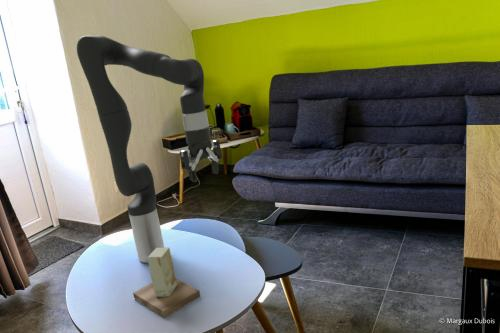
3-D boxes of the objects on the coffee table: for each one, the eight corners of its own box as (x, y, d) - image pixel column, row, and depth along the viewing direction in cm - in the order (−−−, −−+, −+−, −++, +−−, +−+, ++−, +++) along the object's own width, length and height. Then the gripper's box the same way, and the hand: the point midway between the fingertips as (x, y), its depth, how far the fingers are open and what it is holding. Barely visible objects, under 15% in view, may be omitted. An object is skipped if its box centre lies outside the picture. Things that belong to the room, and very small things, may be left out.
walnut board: (134, 298, 125) (132, 292, 124) (168, 280, 133) (167, 274, 132) (164, 318, 114) (163, 311, 113) (200, 296, 121) (199, 290, 121)
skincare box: (169, 297, 119) (161, 257, 116) (155, 297, 120) (146, 257, 117) (177, 284, 125) (170, 246, 122) (163, 284, 126) (155, 247, 123)
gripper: (206, 121, 138) (214, 169, 142) (170, 131, 129) (179, 182, 133) (222, 122, 133) (229, 172, 137) (184, 132, 123) (194, 186, 128)
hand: (205, 177), depth 135 cm, fingers open, 8 cm apart
